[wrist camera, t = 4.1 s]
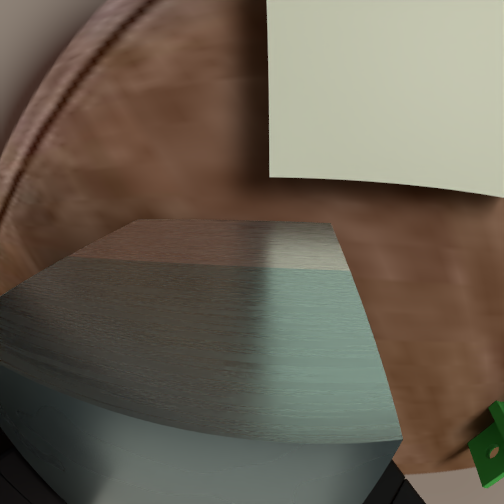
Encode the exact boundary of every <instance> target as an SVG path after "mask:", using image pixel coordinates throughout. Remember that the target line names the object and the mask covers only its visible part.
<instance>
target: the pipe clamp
mask: <svg viewBox="0 0 504 504" xmlns="http://www.w3.org/2000/svg"><path fill="white" fill-rule="evenodd" d="M488 409H489V410H490V412H491V414H492V416H493V418H494V420H495V422H494V423H492V424H491V425H490V426H489V427H488V428H486V429H485V430H484V431H483V432H481V433H480V434H479V435H478V436H476V437H475V438H474V439H472V440H471V441H470V442H468V446H469V449H470V451H471V454H472V457H473V460H474V463H475V466H476V468H477V471H478V474H479V477H480V480H481V483H482V487H484V488H488V487H490V486H491V485H493V484H494V483H496V482H497V481H499V480H500V479H501V478H503V477H504V402H499V401H497V400H496V401H495V402H494V403H493V404H492V405H491V406H489V407H488ZM496 447H499V451H498V453H497V455H496V456H495V457H493V458H491V459H490V453H491V451H492V450H493V449H494V448H496Z"/></svg>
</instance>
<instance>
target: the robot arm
mask: <svg viewBox="0 0 504 504" xmlns="http://www.w3.org/2000/svg"><path fill="white" fill-rule="evenodd" d="M0 504H67V503H66V502H65V501H64V500H63V499H62V498H61V497H60V496H59V495H58V494H57V493H56V492H55V491H54V490H53V489H52V488H51V487H50V486H49V485H48V484H47V483H46V482H45V481H44V480H43V479H42V478H41V476H40V475H39V474H38V473H37V472H36V471H35V470H34V469H33V468H32V466H31V465H30V464H29V463H28V462H27V461H26V459H25V458H24V457H23V456H22V455H21V453H20V452H19V451H18V450H17V448H16V447H15V446H14V444H13V443H12V442H11V441H10V439H9V438H8V437H7V435H6V434H5V432H4V431H3V430H2V428H1V427H0ZM362 504H426V503H425V502H424V501H423V499H422V498H421V497H420V496H419V494H418V493H417V492H416V491H415V489H414V488H413V487H412V485H411V484H410V483H409V481H408V480H407V479H405V476H404V475H403V473H402V472H401V471H400V469H399V468H398V467H397V465H396V464H395V462H394V461H393V460H392V459H391V461H390V463H389V464H388V466H387V468H386V469H385V471H384V472H383V474H382V476H381V477H380V479H379V480H378V482H377V483H376V485H375V486H374V488H373V489H372V491H371V492H370V493H369V495H368V496H367V498H366V499H365V500H364V502H363V503H362Z"/></svg>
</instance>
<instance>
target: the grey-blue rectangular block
mask: <svg viewBox="0 0 504 504" xmlns="http://www.w3.org/2000/svg"><path fill="white" fill-rule="evenodd" d="M0 427H1V428H2V430H3V431H4V432H5V434H6V435H7V437H8V438H9V439H10V441H11V442H12V443H13V444H14V446H15V447H16V448H17V450H18V451H19V452H20V453H21V455H22V456H23V457H24V458H25V459H26V461H27V462H28V463H29V464H30V465H31V466H32V468H33V469H34V470H35V471H36V472H37V473H38V474H39V475H40V476H41V478H42V479H43V480H44V481H45V482H46V483H47V484H48V485H49V486H50V487H51V488H52V489H53V490H54V491H55V492H56V493H57V494H58V495H59V496H60V497H61V498H62V499H63V500H64V501H65V502H66V503H67V504H362V503H363V502H364V500H365V499H366V498H367V496H368V495H369V493H370V492H371V491H372V489H373V488H374V486H375V485H376V483H377V482H378V480H379V479H380V477H381V476H382V474H383V472H384V471H385V469H386V468H387V466H388V464H389V463H390V461H391V459H392V458H393V456H394V454H395V453H396V451H397V449H398V447H399V446H400V444H401V442H402V440H403V438H402V434H401V429H400V425H399V422H398V418H397V414H396V410H395V406H394V403H393V399H392V395H391V392H390V388H389V385H388V382H387V378H386V375H385V371H384V368H383V365H382V362H381V358H380V355H379V352H378V349H377V346H376V343H375V340H374V337H373V334H372V331H371V328H370V325H369V322H368V319H367V316H366V313H365V310H364V308H363V305H362V302H361V299H360V297H359V294H358V291H357V288H356V286H355V283H354V280H353V278H352V275H351V272H350V270H349V267H348V265H347V262H346V260H345V257H344V255H343V252H342V250H341V247H340V245H339V242H338V240H337V237H336V235H335V233H334V230H333V228H332V225H331V223H313V222H285V221H249V220H180V219H138V220H136V221H134V222H132V223H130V224H128V225H126V226H124V227H122V228H120V229H118V230H116V231H114V232H112V233H110V234H108V235H106V236H104V237H102V238H100V239H99V240H97V241H95V242H93V243H91V244H89V245H87V246H85V247H84V248H82V249H80V250H78V251H76V252H74V253H73V254H71V255H69V256H67V257H65V258H64V259H62V260H60V261H58V262H56V263H55V264H53V265H51V266H49V267H48V268H46V269H44V270H43V271H41V272H39V273H37V274H36V275H34V276H32V277H31V278H29V279H27V280H26V281H24V282H22V283H21V284H19V285H18V286H16V287H14V288H13V289H11V290H9V291H8V292H6V293H5V294H3V295H2V296H0Z"/></svg>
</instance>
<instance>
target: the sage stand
mask: <svg viewBox="0 0 504 504" xmlns="http://www.w3.org/2000/svg"><path fill="white" fill-rule="evenodd" d="M267 31H268V78H269V177H286V178H318V179H339V180H356V181H370V182H383V183H395V184H405V185H415V186H425V187H433V188H442V189H450V190H457V191H464V192H471V193H478V194H485V195H491V196H497V197H503V198H504V0H267Z"/></svg>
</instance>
